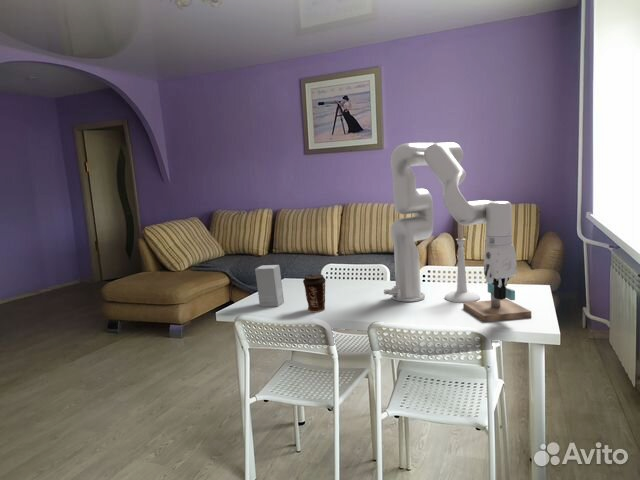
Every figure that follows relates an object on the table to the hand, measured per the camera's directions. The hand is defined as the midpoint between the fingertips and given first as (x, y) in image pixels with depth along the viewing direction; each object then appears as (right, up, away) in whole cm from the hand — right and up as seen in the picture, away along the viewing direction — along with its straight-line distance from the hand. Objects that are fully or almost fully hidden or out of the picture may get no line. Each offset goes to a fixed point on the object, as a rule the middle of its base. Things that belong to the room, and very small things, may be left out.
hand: (499, 298), depth 146 cm
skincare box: (-76, -8, +39) cm, 86 cm away
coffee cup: (-58, -8, +28) cm, 65 cm away
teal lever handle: (+3, +1, +5) cm, 6 cm away
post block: (+3, -6, +11) cm, 12 cm away
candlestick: (-2, -4, +31) cm, 31 cm away
